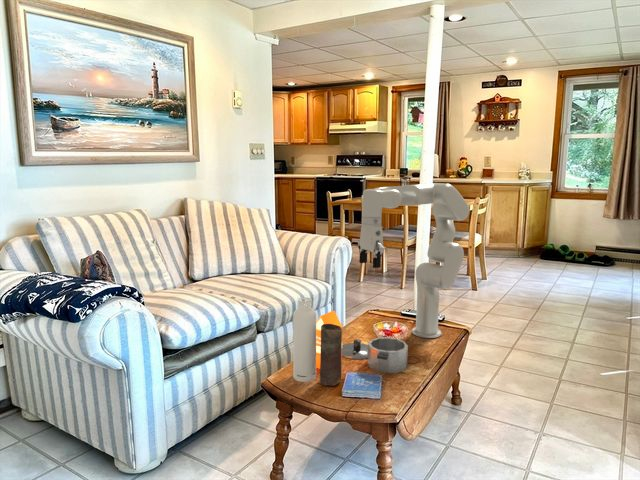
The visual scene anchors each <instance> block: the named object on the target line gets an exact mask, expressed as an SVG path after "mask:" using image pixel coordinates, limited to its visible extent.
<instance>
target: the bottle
mask: <svg viewBox="0 0 640 480" xmlns="http://www.w3.org/2000/svg"><path fill="white" fill-rule="evenodd" d="M303 300H304V301H303ZM312 303H313V300H312V298H311V297H300V298H298V299H297V309H295V310H294V311H293V314H292V320H293V321H292V331H293V332H292V333H293V334H292V338H293V339H292V342H293V343H292V345H293V348H292V351H293V352H292V353H293V354H292V357H293V358H292V359H293V360H292V361H293V362H292V363H293V366H292V367H293V373H292V376H293V379H294V380H295V381H297V382H302V383H303V382H305V383H307V382H312V381H315V380H316V378H317V368H316V322H317V317H318V316H317V314H318V313H317V312H316V310H315V309H313V308H312V307H313V304H312Z"/></svg>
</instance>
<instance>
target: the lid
mask: <svg viewBox="0 0 640 480" xmlns="http://www.w3.org/2000/svg"><path fill="white" fill-rule="evenodd" d="M342 358H345V359H349V360H361V361H362V360H368V343H367V344H366V343H361V340H360V339H354V340H353V342H351V343H349V342H348V343H345V344H342Z"/></svg>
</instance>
